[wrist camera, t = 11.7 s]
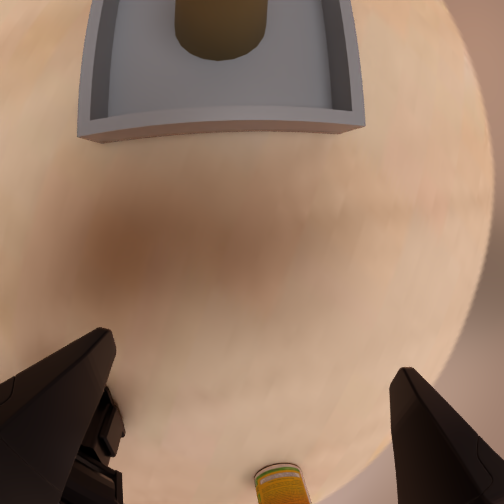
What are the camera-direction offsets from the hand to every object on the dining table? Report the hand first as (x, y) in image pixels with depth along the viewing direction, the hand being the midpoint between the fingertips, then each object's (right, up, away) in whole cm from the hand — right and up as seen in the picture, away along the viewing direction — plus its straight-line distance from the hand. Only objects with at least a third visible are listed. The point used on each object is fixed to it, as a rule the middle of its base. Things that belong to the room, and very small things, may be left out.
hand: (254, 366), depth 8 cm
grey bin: (-2, +19, +8) cm, 20 cm away
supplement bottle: (+3, -22, +19) cm, 29 cm away
